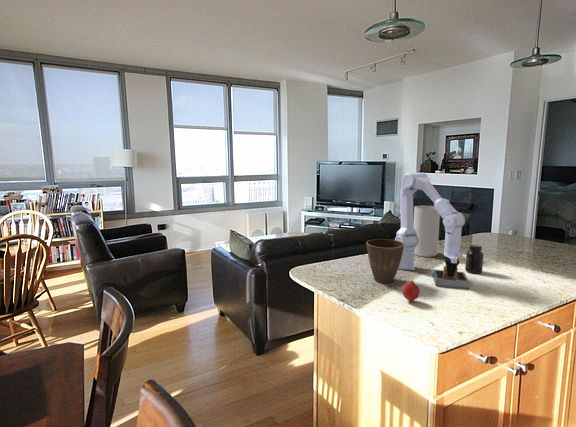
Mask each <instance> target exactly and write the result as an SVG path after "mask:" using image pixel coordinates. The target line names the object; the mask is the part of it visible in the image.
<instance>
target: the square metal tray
mask: <svg viewBox="0 0 576 427" xmlns="http://www.w3.org/2000/svg"><path fill="white" fill-rule="evenodd" d="M432 279H433V283H434V285H435V287H442V288H444V287H445V288H452V289H453V288H454V289H463V290H469V288H470V280H469V279H468V277H467V275H466V274H465V272H464V271H457V278H447V277H444V279H443V270H440V269H433V270H432Z"/></svg>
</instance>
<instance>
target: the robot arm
mask: <svg viewBox="0 0 576 427" xmlns="http://www.w3.org/2000/svg"><path fill="white" fill-rule="evenodd" d="M400 186H401V187H400V189H399V190H400V196H399V197H400V228H399V230H397V232H395V233H396V236H395V237H394V240H396V241H400V242H402V243H404V248H403V253H402V258H401V261H400V265H399V268H398V270H406V271H407V270H408V271H416V266H415V254H414V252H415V249H416V246H417V245H418V243H419V239H418V236H417V231H416V230H415V229H414V228H413V225H414V194H415V192H417V191H418V190H420V191H422V192H424V194H426V196H427V197H428V198H429V199H430V200H431V201H432V202H433V206H434V208H435V209H436V210H437V212H438V213H439V214H440V218H442V219H443V220H442V224H443V226H444V231H445V237H444V247H443V248H444V250H443V255H444V256H443V260H444V262H445V266H447V274H448V276H451V277H454V274H455V271H456V268H458V266H459V265H460V263H461V261H460V257H464V255H463V253H460V252H461V242H462V240H461V239H462V228H463V226H464V225H465V223H466V217H465V215H464V213H462V212H459V211H458V210H456V209H455V208H454V207H453V205H452V204H451V203H450V200H449V199H446V198H442V196H441V195H440V194H439V193H438V191H437V190H436V188H435V187H434V185H433V184H432V183H431V178H430V177H429V176H428V175H427V173H425V172H415V173H414V172H408V173H406V174H404V175H403V176H402V177H401V185H400Z"/></svg>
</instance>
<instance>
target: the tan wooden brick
mask: <svg viewBox="0 0 576 427" xmlns="http://www.w3.org/2000/svg"><path fill="white" fill-rule="evenodd" d="M458 269H459V268H458V267H457V268H456V271H455V274H454V277H451V276H448V274H447V266H446V265H443V270H442V271H443V279H444V277H447V278H457V272H458Z"/></svg>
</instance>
